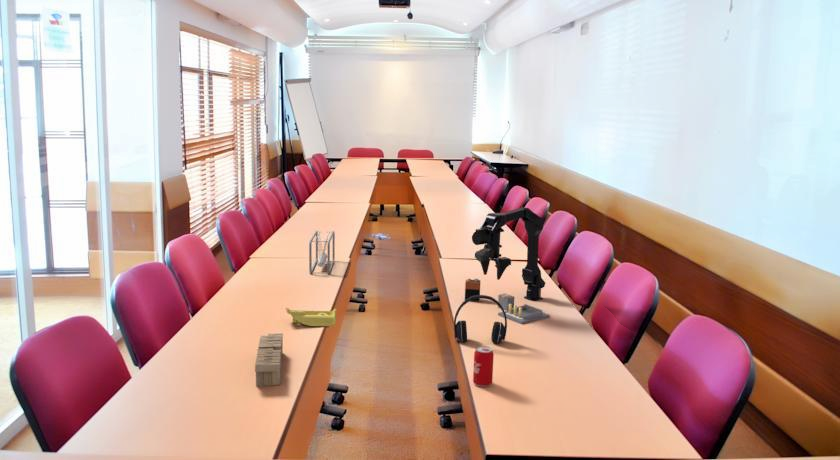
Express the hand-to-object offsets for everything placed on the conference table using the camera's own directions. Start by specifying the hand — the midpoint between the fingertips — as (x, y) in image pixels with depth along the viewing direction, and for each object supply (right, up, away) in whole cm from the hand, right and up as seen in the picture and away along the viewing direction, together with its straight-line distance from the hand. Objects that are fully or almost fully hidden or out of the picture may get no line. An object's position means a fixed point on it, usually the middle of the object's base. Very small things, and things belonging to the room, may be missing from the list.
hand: (491, 277), depth 293 cm
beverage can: (-11, -29, -77) cm, 83 cm away
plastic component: (-76, -17, -22) cm, 81 cm away
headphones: (-9, -22, -38) cm, 45 cm away
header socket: (+14, -16, -6) cm, 22 cm away
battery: (-7, -12, +15) cm, 20 cm away
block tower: (-82, -26, -69) cm, 111 cm away
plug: (+7, -14, +3) cm, 16 cm away
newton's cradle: (-84, 0, +66) cm, 107 cm away
